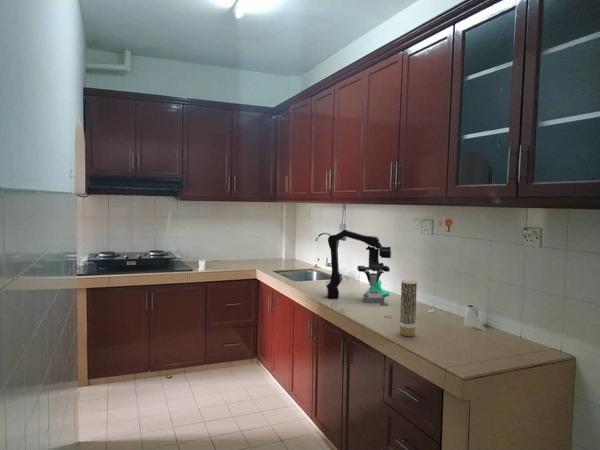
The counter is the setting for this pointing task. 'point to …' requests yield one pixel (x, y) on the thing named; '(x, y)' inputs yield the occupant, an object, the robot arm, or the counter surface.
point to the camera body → (373, 297)
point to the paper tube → (408, 307)
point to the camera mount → (378, 288)
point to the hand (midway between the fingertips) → (373, 282)
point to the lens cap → (383, 304)
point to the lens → (373, 279)
